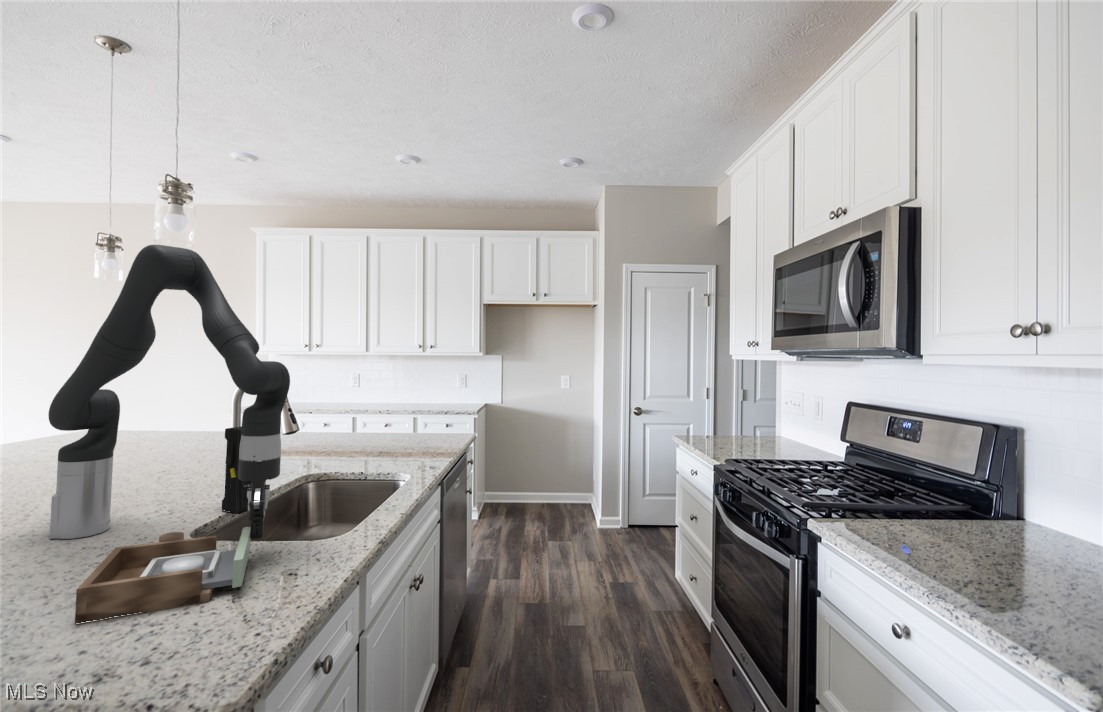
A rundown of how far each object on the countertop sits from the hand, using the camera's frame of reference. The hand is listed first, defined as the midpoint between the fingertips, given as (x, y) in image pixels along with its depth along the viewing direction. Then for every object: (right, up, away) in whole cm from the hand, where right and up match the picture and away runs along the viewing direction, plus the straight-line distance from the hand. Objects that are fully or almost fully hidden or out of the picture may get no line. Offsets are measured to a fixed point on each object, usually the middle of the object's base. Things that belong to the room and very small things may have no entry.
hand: (256, 537), depth 99 cm
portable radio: (-24, -4, +30) cm, 38 cm away
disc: (-6, -1, -13) cm, 14 cm away
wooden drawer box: (-9, -4, -14) cm, 17 cm away
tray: (-4, -2, -12) cm, 13 cm away
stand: (-16, -4, -2) cm, 17 cm away
